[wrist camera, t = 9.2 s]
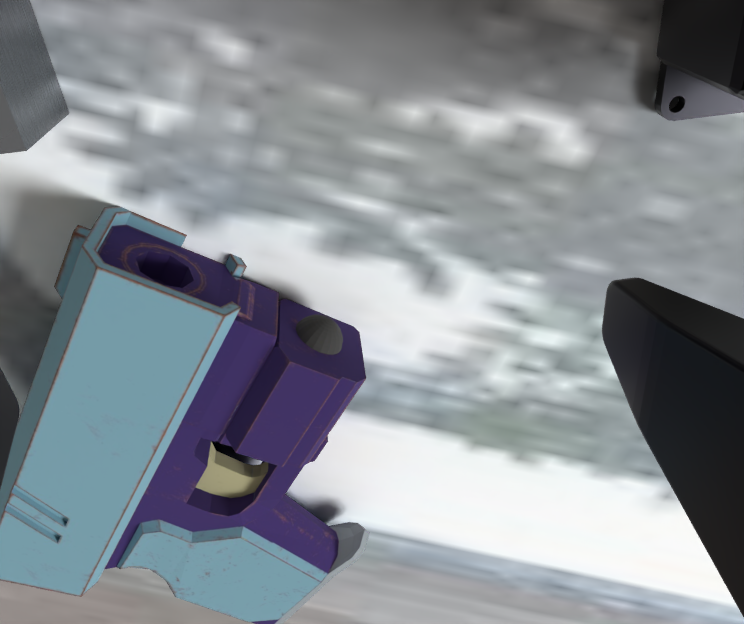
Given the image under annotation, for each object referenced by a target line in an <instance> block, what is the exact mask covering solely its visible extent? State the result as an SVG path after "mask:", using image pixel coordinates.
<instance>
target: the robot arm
mask: <svg viewBox="0 0 744 624" xmlns="http://www.w3.org/2000/svg"><path fill="white" fill-rule="evenodd" d="M657 57H658V58H659V59H660V60H661V65H660V72H659V79H658V86H657V93H656V100H655V109H656V111H657V113H658V114H659V115H661V116H662V117H664V118H666V119H667V120H673V121H675V120H684V119H692V118H700V117H708V116H716V115H724V114H732V113H741V112H744V0H664V5H663V12H662V19H661V26H660V34H659V41H658V48H657ZM677 96H679V101H678V104H677V105H676V106H675V107H674V108H672V109H669V103H670V101H671V100H672V99H673V98H674V97H677ZM602 335H603V340H604V344H605V346H606V349H607V351H608V354H609V356H610V359H611V361H612V364H613V366H614V369H615V371H616V374H617V376H618V379H619V381H620V383H621V386H622V388H623V391H624V393H625V396H626V398H627V401H628V403H629V406H630V408H631V411H632V413H633V415H634V418H635V420H636V422H637V425H638V427H639V428H640V430H641V432H642V434H643V436H644V438H645V440H646V442H647V444H648V445H649V447H650V449H651V451H652V453H653V454H654V456H655V458H656V460H657V462H658V464H659V465H660V467H661V469H662V471H663V473H664V474H665V476H666V478H667V480H668V482H669V483H670V485H671V487H672V489H673V491H674V492H675V494H676V496H677V498H678V500H679V501H680V503H681V505H682V507H683V509H684V510H685V512H686V514H687V516H688V518H689V519H690V521H691V523H692V525H693V527H694V529H695V530H696V532H697V534H698V536H699V538H700V539H701V541H702V543H703V545H704V547H705V548H706V550H707V552H708V554H709V556H710V557H711V559H712V561H713V563H714V565H715V566H716V568H717V570H718V572H719V574H720V575H721V577H722V579H723V581H724V583H725V584H726V586H727V588H728V590H729V592H730V594H731V595H732V597H733V599H734V601H735V603H736V604H737V606H738V608H739V610H740V612H741V613H742V615H743V617H744V319H743V318H741V317H738V316H735V315H733V314H730V313H728V312H725V311H723V310H720V309H718V308H715V307H713V306H710V305H707V304H705V303H702V302H700V301H697V300H695V299H692V298H690V297H687V296H685V295H682V294H680V293H677V292H674V291H672V290H669V289H667V288H664V287H662V286H659V285H657V284H654V283H652V282H649V281H646V280H644V279H641V278H628V279H620V280H614V281H612V282H611V283H610V284H609V286H608V288H607V292H606V300H605V308H604V316H603V324H602ZM18 418H19V405H18V401H17V399H16V397H15V395H14V393H13V391H12V389H11V387H10V385H9V383H8V381H7V380H6V378H5V376H4V374H3V372H2V370H1V368H0V490H1V486H2V482H3V478H4V474H5V470H6V466H7V462H8V458H9V454H10V450H11V446H12V442H13V438H14V434H15V430H16V426H17V422H18Z"/></svg>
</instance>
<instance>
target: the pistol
mask: <svg viewBox="0 0 744 624" xmlns="http://www.w3.org/2000/svg"><path fill="white" fill-rule="evenodd" d="M186 236H187V235H185V234H183V233H181V232H178V231H176V230H174V229H171V228H169V227H166V226H164V225H162V224H159V223H157V222H155V221H152V220H150V219H148V218H145V217H143V216H141V215H138V214H136V213H134V212H131V211H129V210H127V209H124V208H122V207H107V208H104V210H103V211H102V213H101V215H100V216H99V218H98V219H97V221H96V223H95V224H94V226H93V228H92V229H91V230H90V229H87V228H85V227H82V226H80V225H78V226H77V227H76V229H75V230H74V232H73V234H72V237H71V240H70V243H69V246H68V249H67V251H66V254H65V257H64V260H63V263H62V266H61V269H60V271H59V274H58V277H57V280H56V283H55V286H54V287H55V288H56V290H57V292H58V293H59V295H60V296H61V298H62V302H61V304H60V307H59V310H58V313H57V315H56V318H55V321H54V324H53V326H52V329H51V332H50V335H49V338H48V340H47V343H46V346H45V349H44V351H43V354H42V357H41V360H40V363H39V365H38V368H37V371H36V374H35V376H34V379H33V382H32V385H31V388H30V390H29V393H28V396H27V399H26V401H25V404H24V407H23V410H22V413H21V415H20V418H19V421H18V424H17V426H16V430H15V434H14V438H13V442H12V446H11V450H10V454H9V458H8V462H7V466H6V470H5V474H4V478H3V482H2V486H1V490H0V580H1V581H6V582H11V583H16V584H21V585H26V586H30V587H35V588H40V589H45V590H50V591H55V592H60V593H65V594H69V595H74V596H79V597H81V596H83V595H84V594H85V593H86V592H87V591H88V590H89V589H90V588H91V587H92V586H93V585H95V584H96V583H97V582H98V580H99V578H100V576H101V574H102V572H103V571H104V569H108V568H114V567H118V568H119V569H122V568H127V567H132V568H142V569H150V570H152V571H153V572H155V573H156V574H157V575H159V576H160V577H162V578H163V579H164V580H166V582H167V584H168V585H169V587H170V589H171V590H172V592H173V594H174V596H175V597H177V598H180V599H182V600H185V601H188V602H191V603H194V604H197V605H200V606H203V607H206V608H208V609H211V610H214V611H217V612H220V613H223V614H226V615H229V616H232V617H235V618H237V619H240V620H243V621H246V622H252V623H255V624H283V623H284V622H285V621H287V620H288V619H289V618H290V617H291V616H292V615H293V614H294V613H295V612H296V611H297V610H298V609H299V608H301V607H302V606H303V605H304V604H305V603H306V602H307V601H308V600H309V599H310V598H311V597H312V596H313V595H315V594H316V593H317V592H318V591H319V590H320V589H321V588H322V587H323V586H324V585H325V584H326V583H328V582H329V581H330V580H331V579H332V578H333V577H334V576H335V575H337V574H338V573H340V572H341V571H343V570H344V569H346V568H347V567H349V566H350V565H352V564H353V563H354V562H356V561H357V559H358V558H359V557H360V556H361V554H362V553H363V552H364V551H365V548H366V544H367V540H368V537H369V533H370V532H368V531H367V530H366V529H365V528H364V527H362V526H361V525H360V524H358V523H351V522H348V523H342V524H337V525H331V526H328V525H326V524H325V523H324V522H322V521H321V520H320V519H318V518H317V517H316V516H314V515H313V514H311V513H310V512H309V511H307V510H306V509H305V508H303V507H302V506H301V505H299V504H298V503H296V502H295V501H294V500H292V499H291V498H290V497H288V496H287V495H286V494H285V493H286V492H287V490H288V489H289V487H290V486H291V484H292V483H293V481H294V480H295V478H296V477H297V475H298V474H299V472H300V471H301V469H302V468H303V466H304V465H306V464H307V463H309V462H313V461H315V459H316V458H317V457H318V455H319V454H320V452H321V451H322V449H323V448H324V446H325V445H326V443H327V442H328V436H327V435H328V434H329V432H330V431H331V429H332V428H333V426H334V425H335V423H336V422H337V420H338V419H339V418H340V416H341V415H342V413H343V412H344V410H345V409H346V407H347V406H348V404H349V403H350V401H351V400H352V398H353V397H354V395H355V394H356V392H357V391H358V390H359V388H360V387H361V385H362V384H363V382H364V381H365V379H366V375H365V368H364V361H363V354H362V347H361V341H360V334H359V332H358V331H357V330H356V329H355V328H354V327H353V326H351V325H348V324H346V323H343V322H341V321H339V320H336V319H334V318H331V317H329V316H327V315H324V314H322V313H319V312H317V311H314V310H312V309H310V308H307V307H305V306H302V305H300V304H298V303H295V302H293V301H290V300H288V299H286V298H284V299H282V300H280V301H279V292H276V291H274V290H271V289H269V288H266V287H264V286H262V285H259V284H257V283H254V282H251V281H248V280H245V279H242V278H241V277H242V275H243V273H244V271H245V269H246V267H247V266H246V265H245V263H244V262H243V260H242V259H241V258H239V257H237V256H234V255H232V254H230V256H229V258H228V260H227V262H226V264H225V265H224V264H222V263H219V262H217V261H214V260H212V259H209V258H207V257H204V256H202V255H199V254H197V253H194V252H192V251H189V250H187V249H184V248H182V247H181V246H182V244H183V242H184V240H185V238H186ZM278 301H279V302H278ZM212 441H214V442H215V441H218V442H219V443H220V444H224V445H228V446H232V448H233V449H234V451H235V453H238V454H241V455H244V456H248V457H251V458H254V459H258V460H261V461H262V463H261V464H260V465H249V464H245V463H242V462H240V461H238V460H236V459H234V458H231V457H229V456H227V455H225V454H222V453H220V452H218V451H216V449H215V447H214V445H213V443H212Z"/></svg>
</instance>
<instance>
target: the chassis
mask: <svg viewBox="0 0 744 624" xmlns="http://www.w3.org/2000/svg"><path fill="white" fill-rule="evenodd" d="M68 114H69V111H68V108H67V106H66V103H65V100H64V97H63V94H62V91H61V89H60V86H59V83H58V80H57V77H56V74H55V71H54V69H53V66H52V63H51V60H50V57H49V54H48V52H47V49H46V46H45V43H44V40H43V37H42V35H41V32H40V29H39V26H38V23H37V20H36V18H35V15H34V12H33V9H32V6H31V3H30V1H29V0H0V154H4V153H12V152H20V151H27V150H28V149H29V148H30V147H32V146H33V145H34V144H35V143H36V142H37V141H38V140H39V139H41V138H42V137H43V136H44V135H45V134H46V133H47V132H49V131H50V130H51V129H52V128H53V127H54V126H55V125H57V124H58V123H59V122H60V121H61V120H62V119H63V118H65V117H66V116H67V115H68Z"/></svg>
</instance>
